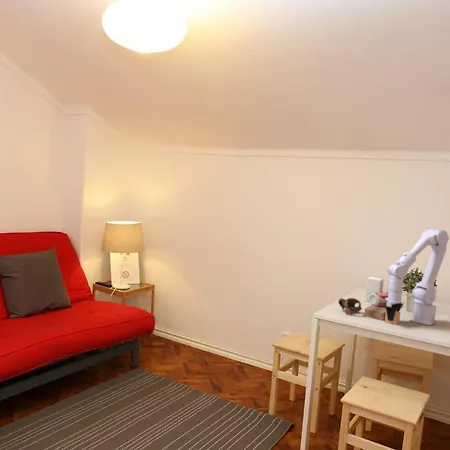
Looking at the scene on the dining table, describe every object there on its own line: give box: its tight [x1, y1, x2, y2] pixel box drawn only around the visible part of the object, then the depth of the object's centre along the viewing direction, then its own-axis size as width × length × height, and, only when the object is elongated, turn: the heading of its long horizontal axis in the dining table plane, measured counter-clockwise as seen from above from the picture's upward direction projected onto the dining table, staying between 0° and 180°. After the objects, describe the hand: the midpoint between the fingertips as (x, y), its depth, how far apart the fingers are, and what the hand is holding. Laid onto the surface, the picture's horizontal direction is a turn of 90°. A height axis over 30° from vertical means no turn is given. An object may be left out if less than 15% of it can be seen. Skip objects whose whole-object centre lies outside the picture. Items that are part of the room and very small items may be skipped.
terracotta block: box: [384, 311, 401, 326], centre depth 219 cm, size 5×5×5 cm
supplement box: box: [365, 276, 385, 303], centre depth 257 cm, size 7×7×13 cm
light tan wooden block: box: [363, 305, 386, 321], centre depth 227 cm, size 9×9×4 cm
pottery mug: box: [338, 297, 362, 316], centre depth 231 cm, size 12×10×8 cm
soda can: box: [369, 291, 389, 307], centre depth 249 cm, size 7×7×12 cm
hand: (392, 319), depth 220 cm, fingers closed on terracotta block, 5 cm apart
